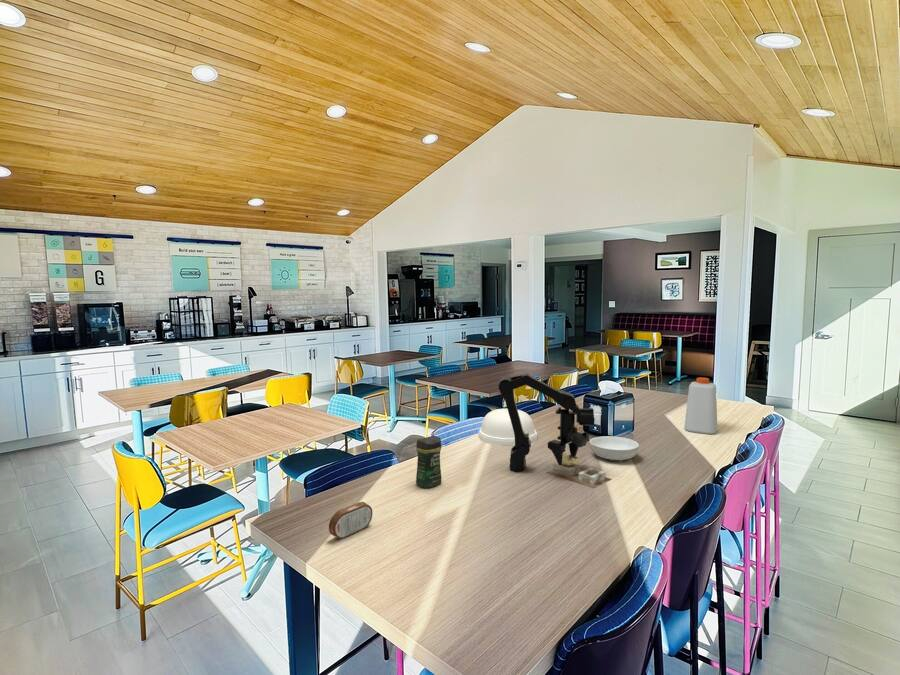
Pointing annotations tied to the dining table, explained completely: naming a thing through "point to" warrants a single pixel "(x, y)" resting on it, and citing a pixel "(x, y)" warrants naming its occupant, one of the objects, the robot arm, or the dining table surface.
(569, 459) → the gold rectangular bar
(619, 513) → the dining table surface
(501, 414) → the dome cover
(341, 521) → the tin
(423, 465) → the coffee jar
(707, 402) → the plastic bottle
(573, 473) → the board
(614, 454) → the serving bowl
